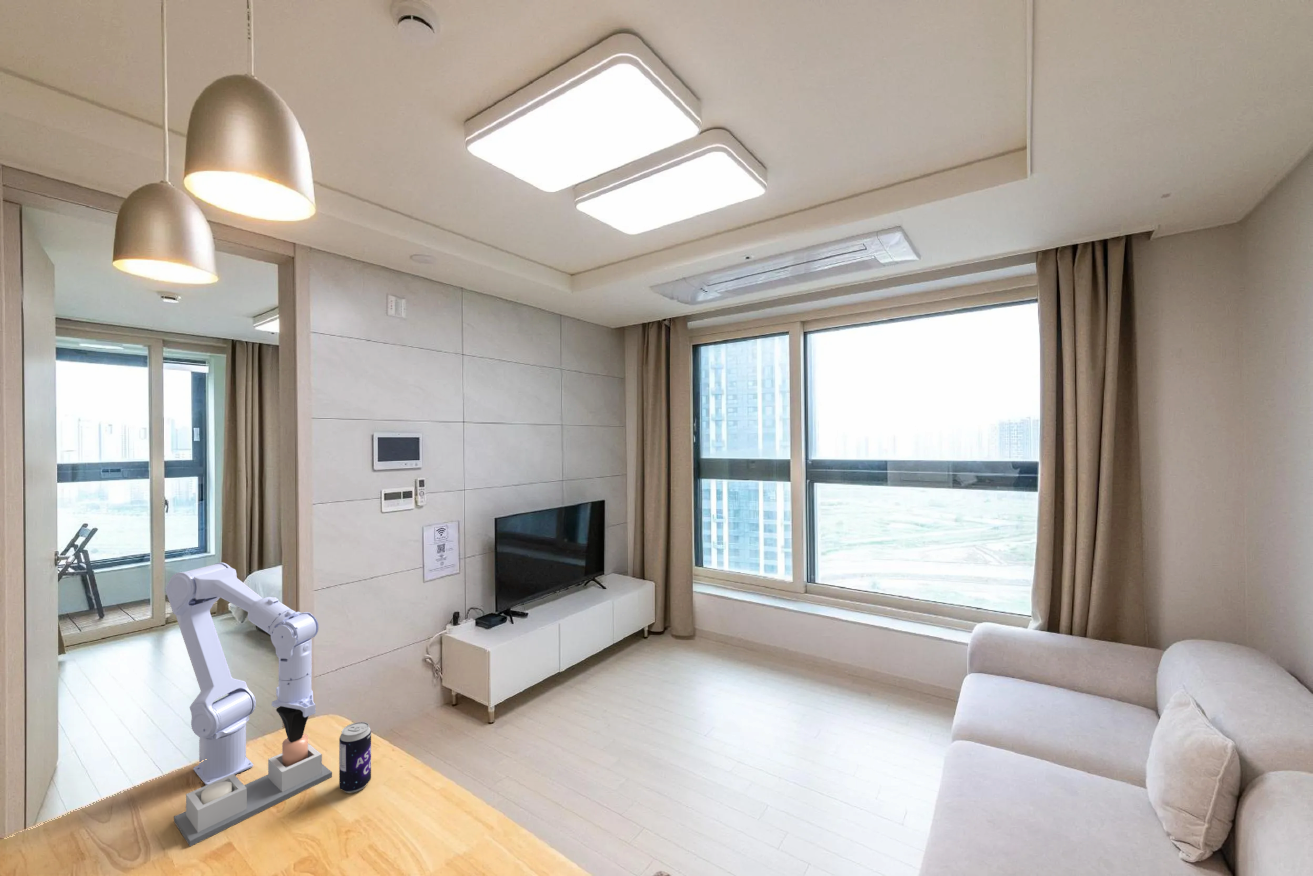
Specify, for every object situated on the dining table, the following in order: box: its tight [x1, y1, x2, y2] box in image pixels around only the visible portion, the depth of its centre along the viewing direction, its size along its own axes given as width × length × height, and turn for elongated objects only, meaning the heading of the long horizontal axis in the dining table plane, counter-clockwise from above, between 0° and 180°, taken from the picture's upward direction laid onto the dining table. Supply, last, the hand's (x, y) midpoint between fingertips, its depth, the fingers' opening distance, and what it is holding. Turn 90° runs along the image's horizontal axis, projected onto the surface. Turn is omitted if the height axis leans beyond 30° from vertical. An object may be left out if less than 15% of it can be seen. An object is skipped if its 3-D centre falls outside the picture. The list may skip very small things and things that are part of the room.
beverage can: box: [338, 721, 372, 794], centre depth 107 cm, size 6×6×12 cm
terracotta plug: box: [281, 733, 309, 767], centre depth 109 cm, size 4×4×4 cm
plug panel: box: [173, 742, 333, 847], centre depth 104 cm, size 10×23×5 cm, turn 145°
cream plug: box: [201, 781, 232, 805], centre depth 98 cm, size 4×4×4 cm
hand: (295, 739), depth 109 cm, fingers closed
